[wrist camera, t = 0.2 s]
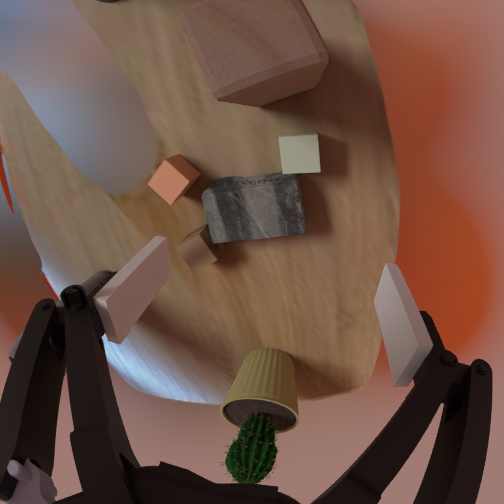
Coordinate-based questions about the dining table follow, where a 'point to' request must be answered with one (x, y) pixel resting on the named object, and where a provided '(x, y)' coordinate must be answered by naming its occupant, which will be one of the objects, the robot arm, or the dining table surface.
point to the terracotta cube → (173, 178)
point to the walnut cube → (200, 248)
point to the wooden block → (254, 48)
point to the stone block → (254, 207)
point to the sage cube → (299, 153)
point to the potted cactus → (260, 412)
